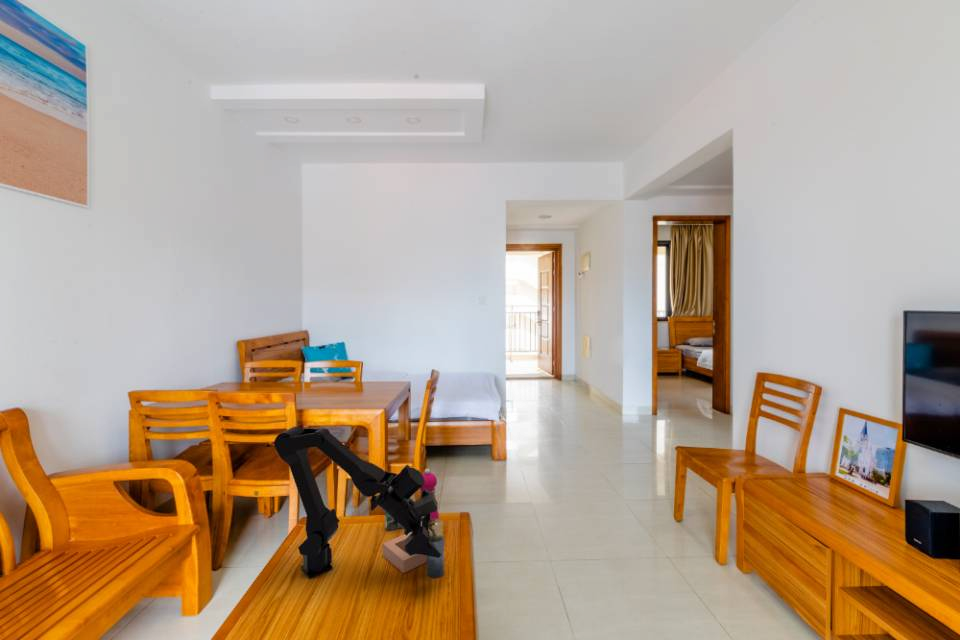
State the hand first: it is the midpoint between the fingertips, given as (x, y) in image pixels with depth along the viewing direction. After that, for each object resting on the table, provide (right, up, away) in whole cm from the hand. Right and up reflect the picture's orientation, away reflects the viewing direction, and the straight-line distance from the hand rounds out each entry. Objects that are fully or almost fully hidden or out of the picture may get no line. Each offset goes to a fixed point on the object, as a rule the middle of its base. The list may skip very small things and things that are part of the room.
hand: (440, 546), depth 118 cm
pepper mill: (-6, -6, +22) cm, 23 cm away
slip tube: (-1, -7, 0) cm, 7 cm away
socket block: (-10, -7, +8) cm, 14 cm away
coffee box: (-16, -6, +24) cm, 29 cm away
